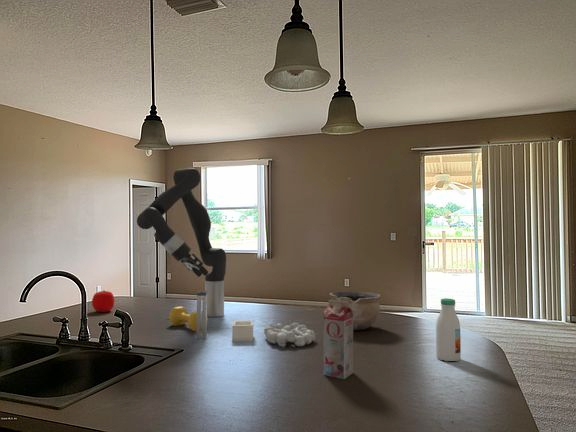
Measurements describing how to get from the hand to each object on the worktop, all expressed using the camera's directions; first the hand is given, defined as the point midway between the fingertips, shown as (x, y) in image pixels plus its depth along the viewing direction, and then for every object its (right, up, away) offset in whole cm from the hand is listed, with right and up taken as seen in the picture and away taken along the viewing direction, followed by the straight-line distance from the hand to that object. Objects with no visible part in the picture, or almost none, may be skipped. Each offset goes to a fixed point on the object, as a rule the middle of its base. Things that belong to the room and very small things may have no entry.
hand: (203, 274), depth 181 cm
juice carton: (+51, -23, -52) cm, 76 cm away
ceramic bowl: (+65, -24, +6) cm, 69 cm away
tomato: (-60, -25, +40) cm, 76 cm away
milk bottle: (+90, -23, -37) cm, 100 cm away
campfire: (+36, -24, -14) cm, 46 cm away
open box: (+18, -24, -12) cm, 32 cm away
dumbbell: (-8, -24, +6) cm, 26 cm away
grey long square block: (+1, -24, -11) cm, 26 cm away
